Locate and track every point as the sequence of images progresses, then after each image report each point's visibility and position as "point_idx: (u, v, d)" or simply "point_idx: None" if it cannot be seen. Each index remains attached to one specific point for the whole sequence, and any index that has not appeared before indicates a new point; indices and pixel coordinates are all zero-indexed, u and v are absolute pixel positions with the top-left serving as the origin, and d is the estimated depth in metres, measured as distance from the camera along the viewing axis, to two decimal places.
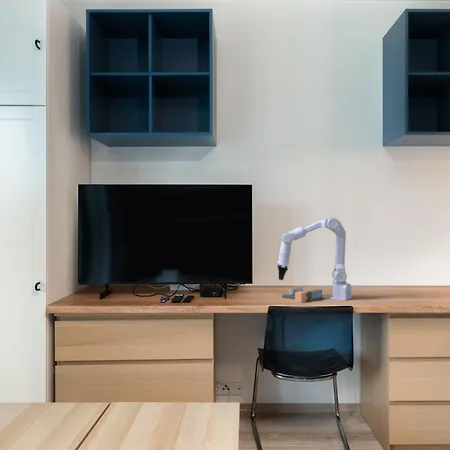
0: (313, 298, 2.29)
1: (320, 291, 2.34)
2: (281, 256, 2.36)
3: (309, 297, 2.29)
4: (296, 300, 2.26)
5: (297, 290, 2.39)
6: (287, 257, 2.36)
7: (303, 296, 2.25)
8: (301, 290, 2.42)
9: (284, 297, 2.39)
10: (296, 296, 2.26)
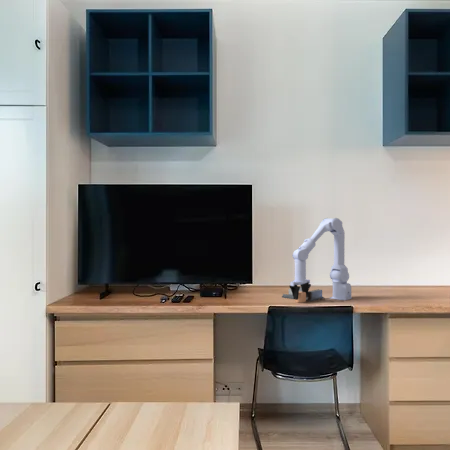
0: (313, 298, 2.29)
1: (320, 291, 2.34)
2: (295, 274, 2.26)
3: (309, 297, 2.29)
4: (296, 300, 2.26)
5: None
6: (300, 275, 2.24)
7: (303, 296, 2.25)
8: (301, 290, 2.42)
9: (284, 297, 2.39)
10: None
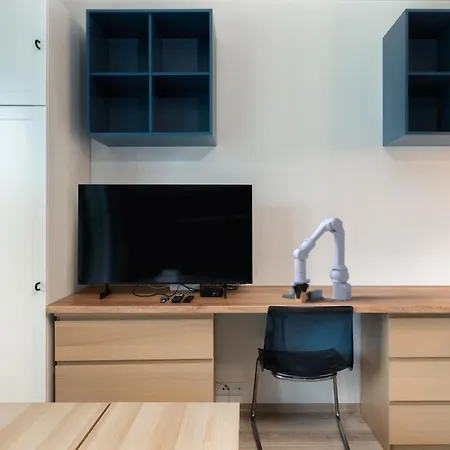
0: (313, 298, 2.29)
1: (320, 291, 2.34)
2: (295, 274, 2.26)
3: (309, 297, 2.29)
4: (296, 300, 2.26)
5: None
6: (300, 274, 2.24)
7: (303, 296, 2.25)
8: None
9: (284, 297, 2.39)
10: None
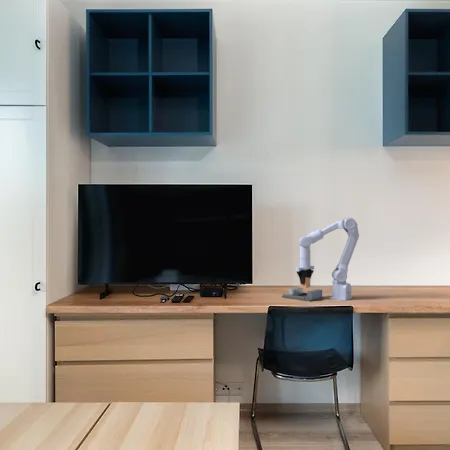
0: (313, 298, 2.29)
1: (320, 291, 2.34)
2: (300, 260, 2.36)
3: (309, 297, 2.29)
4: (301, 285, 2.36)
5: (297, 290, 2.39)
6: (305, 261, 2.34)
7: (307, 282, 2.35)
8: (301, 290, 2.42)
9: (284, 297, 2.39)
10: None
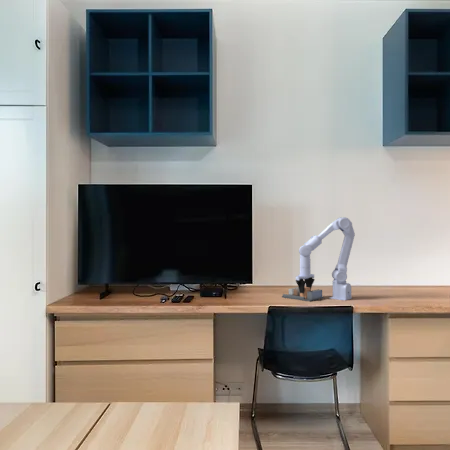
0: (313, 298, 2.29)
1: (320, 291, 2.34)
2: (300, 269, 2.36)
3: (309, 297, 2.29)
4: (301, 295, 2.36)
5: (297, 290, 2.39)
6: (305, 270, 2.34)
7: (307, 291, 2.35)
8: None
9: (284, 297, 2.39)
10: None
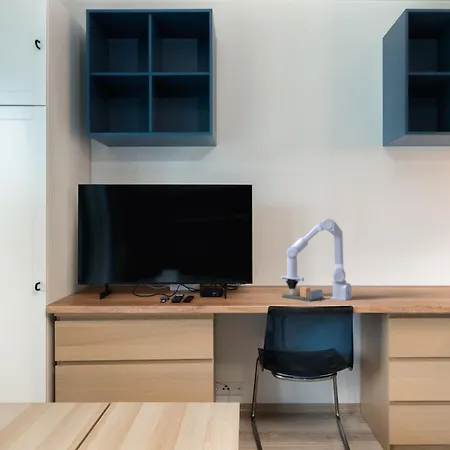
0: (313, 298, 2.29)
1: (320, 291, 2.34)
2: None
3: (309, 297, 2.29)
4: (301, 295, 2.36)
5: (297, 290, 2.39)
6: (287, 270, 2.43)
7: (307, 291, 2.35)
8: None
9: (284, 297, 2.39)
10: (301, 291, 2.36)
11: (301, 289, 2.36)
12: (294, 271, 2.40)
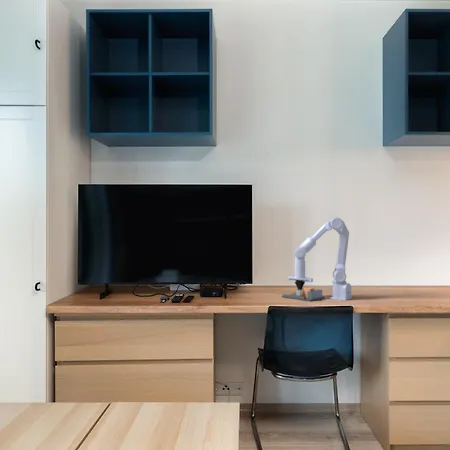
0: (313, 298, 2.29)
1: (320, 291, 2.34)
2: None
3: (309, 297, 2.29)
4: (305, 295, 2.34)
5: None
6: None
7: None
8: None
9: (284, 297, 2.39)
10: (305, 292, 2.34)
11: (305, 289, 2.34)
12: (302, 272, 2.36)
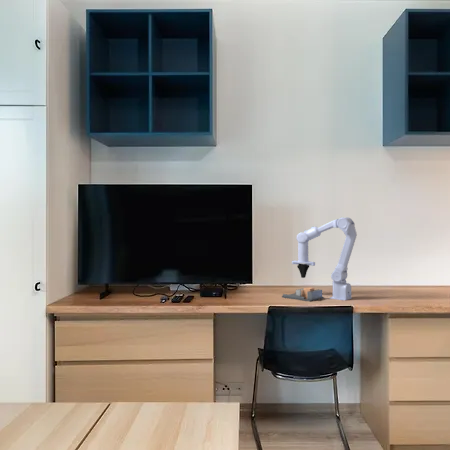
0: (313, 298, 2.29)
1: (320, 291, 2.34)
2: None
3: (309, 297, 2.29)
4: (305, 295, 2.34)
5: None
6: (298, 255, 2.47)
7: None
8: None
9: (284, 297, 2.39)
10: (305, 292, 2.34)
11: (305, 290, 2.34)
12: (305, 256, 2.44)
